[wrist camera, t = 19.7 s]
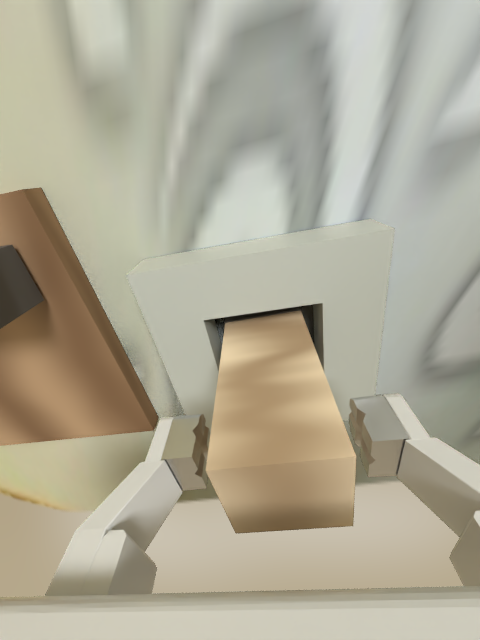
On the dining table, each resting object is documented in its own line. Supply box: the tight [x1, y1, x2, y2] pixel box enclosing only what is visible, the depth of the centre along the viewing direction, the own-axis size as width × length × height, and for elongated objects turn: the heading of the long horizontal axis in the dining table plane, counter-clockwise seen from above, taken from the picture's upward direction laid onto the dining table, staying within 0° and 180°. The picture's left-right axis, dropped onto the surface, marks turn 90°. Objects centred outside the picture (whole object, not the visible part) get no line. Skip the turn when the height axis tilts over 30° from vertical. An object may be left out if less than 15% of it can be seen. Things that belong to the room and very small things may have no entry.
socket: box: [126, 219, 395, 433], centre depth 13 cm, size 10×10×2 cm
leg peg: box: [206, 306, 356, 533], centre depth 10 cm, size 4×4×8 cm
